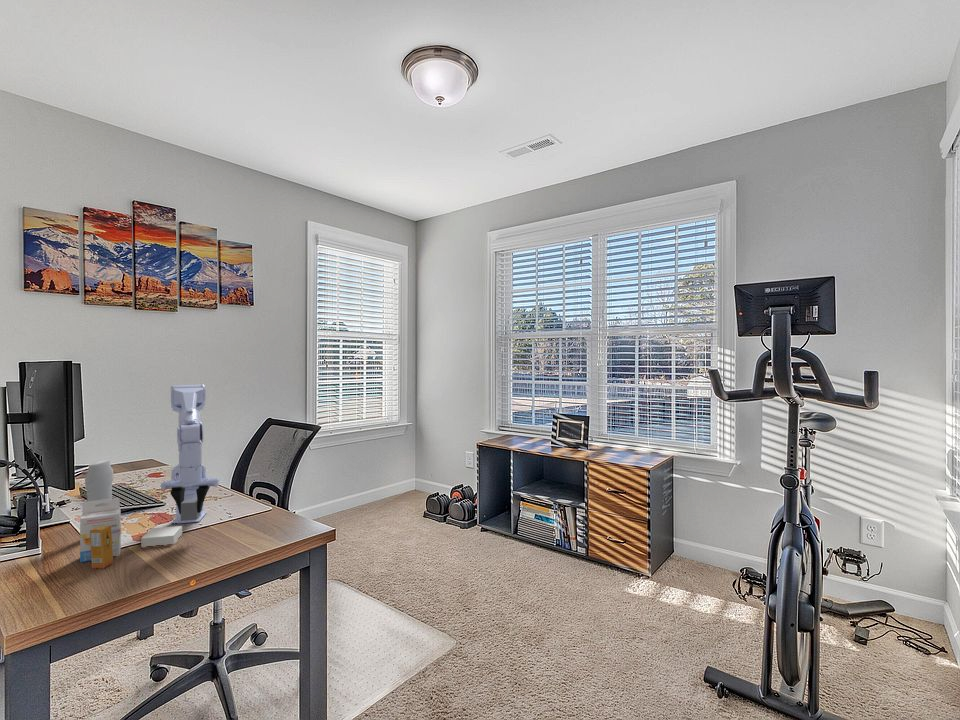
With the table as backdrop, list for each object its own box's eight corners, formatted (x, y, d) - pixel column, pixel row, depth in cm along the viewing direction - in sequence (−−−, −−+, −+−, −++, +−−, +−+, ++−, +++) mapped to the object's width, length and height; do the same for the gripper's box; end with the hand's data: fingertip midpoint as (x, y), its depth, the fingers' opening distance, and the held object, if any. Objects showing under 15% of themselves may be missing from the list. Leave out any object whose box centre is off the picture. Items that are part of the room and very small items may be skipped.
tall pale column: (93, 540, 143) (92, 464, 142) (79, 540, 143) (78, 464, 142) (119, 527, 153) (119, 457, 153) (106, 527, 153) (105, 456, 153)
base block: (151, 538, 145) (151, 528, 145) (182, 535, 148) (182, 525, 148) (141, 548, 138) (141, 538, 138) (173, 545, 140) (173, 535, 140)
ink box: (79, 563, 127) (79, 507, 127) (82, 556, 132) (81, 501, 131) (120, 556, 132) (119, 501, 132) (121, 549, 136) (120, 496, 136)
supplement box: (100, 563, 128) (100, 524, 127) (113, 563, 127) (112, 525, 127) (89, 568, 124) (89, 529, 124) (103, 569, 124) (102, 529, 124)
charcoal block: (185, 516, 144) (185, 499, 144) (200, 515, 145) (200, 498, 145) (180, 520, 140) (180, 503, 140) (196, 519, 141) (196, 502, 141)
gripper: (156, 470, 136) (157, 519, 137) (214, 467, 140) (215, 514, 141) (165, 464, 143) (166, 510, 144) (220, 462, 147) (220, 506, 147)
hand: (190, 512), depth 143 cm, fingers closed on charcoal block, 4 cm apart
